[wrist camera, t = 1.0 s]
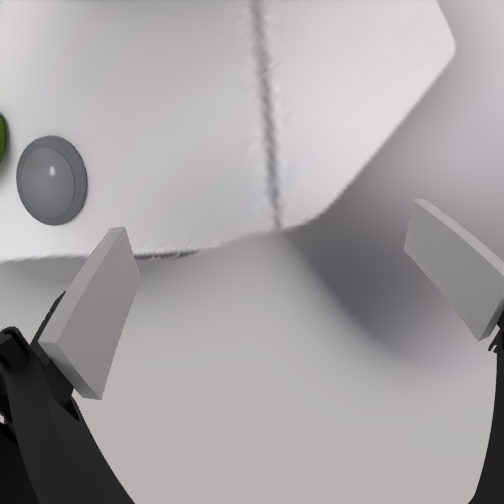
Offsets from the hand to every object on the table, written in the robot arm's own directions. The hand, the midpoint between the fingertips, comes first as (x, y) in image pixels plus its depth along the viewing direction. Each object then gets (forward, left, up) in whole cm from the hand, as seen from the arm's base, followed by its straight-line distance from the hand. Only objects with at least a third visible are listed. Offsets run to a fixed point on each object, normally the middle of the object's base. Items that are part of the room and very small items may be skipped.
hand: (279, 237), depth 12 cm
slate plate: (-9, -28, -26) cm, 39 cm away
